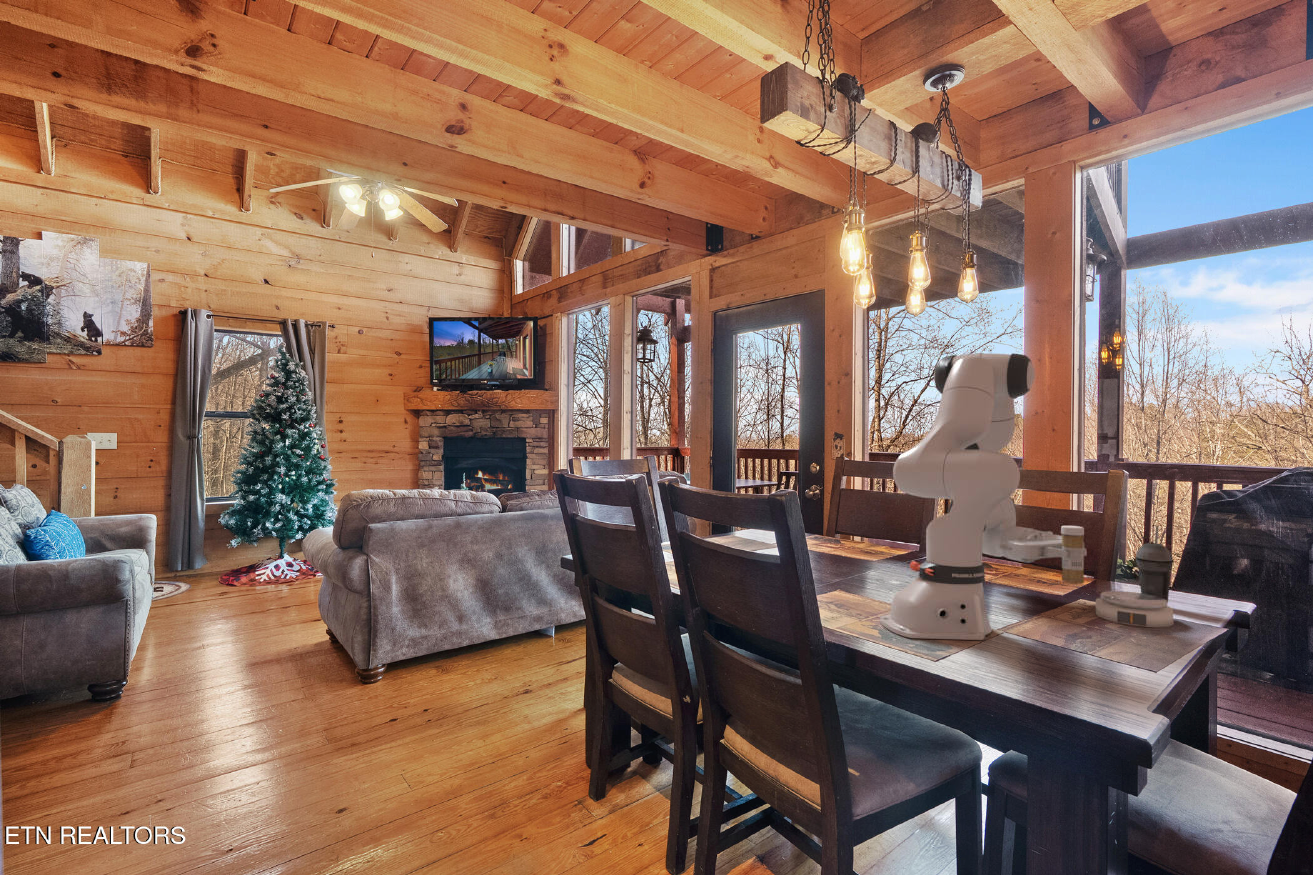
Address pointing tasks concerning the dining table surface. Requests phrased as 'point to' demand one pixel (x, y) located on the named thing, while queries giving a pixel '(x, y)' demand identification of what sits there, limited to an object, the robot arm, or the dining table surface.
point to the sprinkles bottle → (1073, 554)
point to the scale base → (1134, 615)
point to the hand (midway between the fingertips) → (1076, 553)
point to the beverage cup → (1154, 568)
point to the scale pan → (1134, 600)
